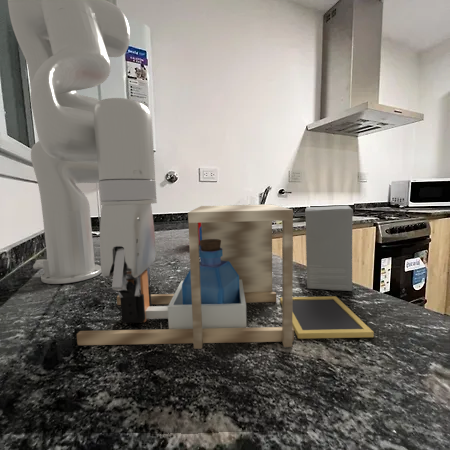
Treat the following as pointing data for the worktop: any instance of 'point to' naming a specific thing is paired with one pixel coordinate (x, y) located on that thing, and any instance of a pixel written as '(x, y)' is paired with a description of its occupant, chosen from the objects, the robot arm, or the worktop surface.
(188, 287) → the perfume bottle
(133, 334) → the track
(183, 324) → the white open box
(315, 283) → the skincare box
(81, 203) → the robot arm
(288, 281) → the tunnel
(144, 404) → the worktop surface
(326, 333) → the yellow framed grey pad
